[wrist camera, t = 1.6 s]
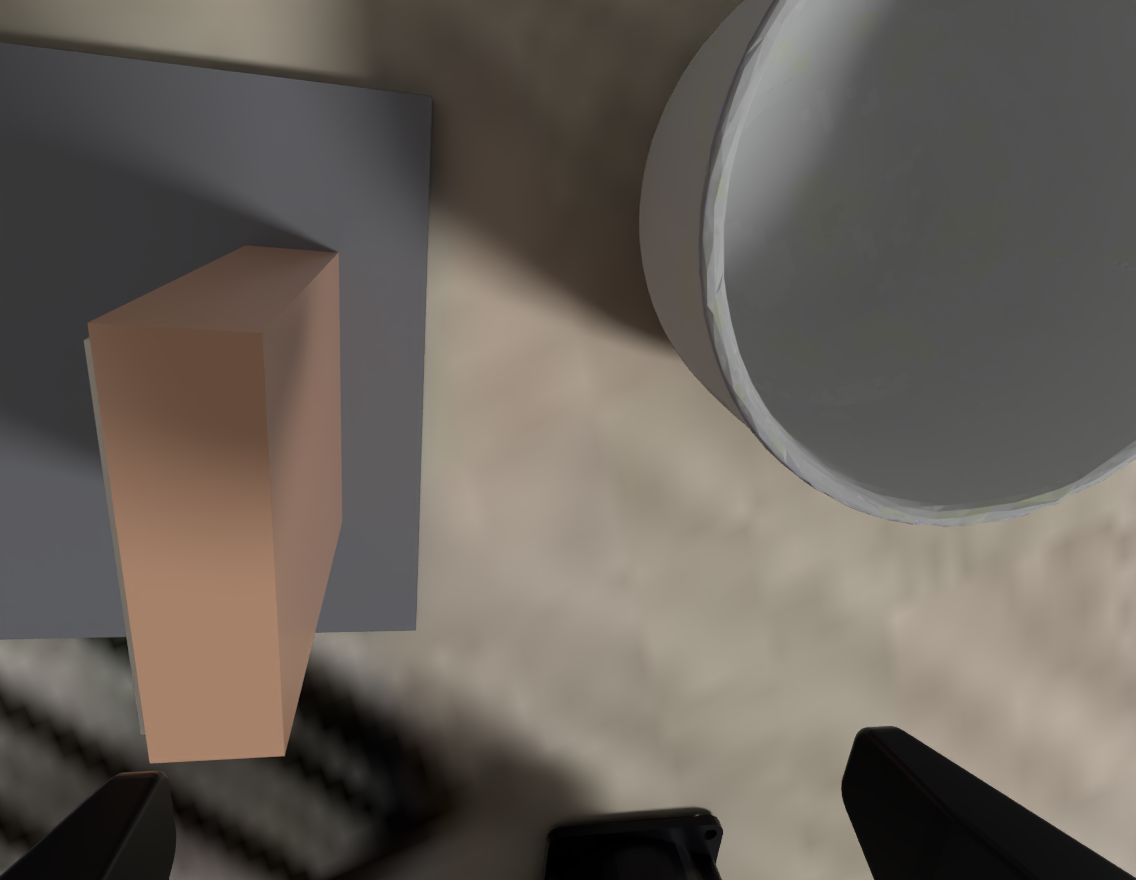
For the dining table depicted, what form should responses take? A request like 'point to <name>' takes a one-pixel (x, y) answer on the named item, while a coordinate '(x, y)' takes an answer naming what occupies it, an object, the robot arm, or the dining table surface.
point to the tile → (222, 492)
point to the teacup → (909, 245)
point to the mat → (175, 248)
